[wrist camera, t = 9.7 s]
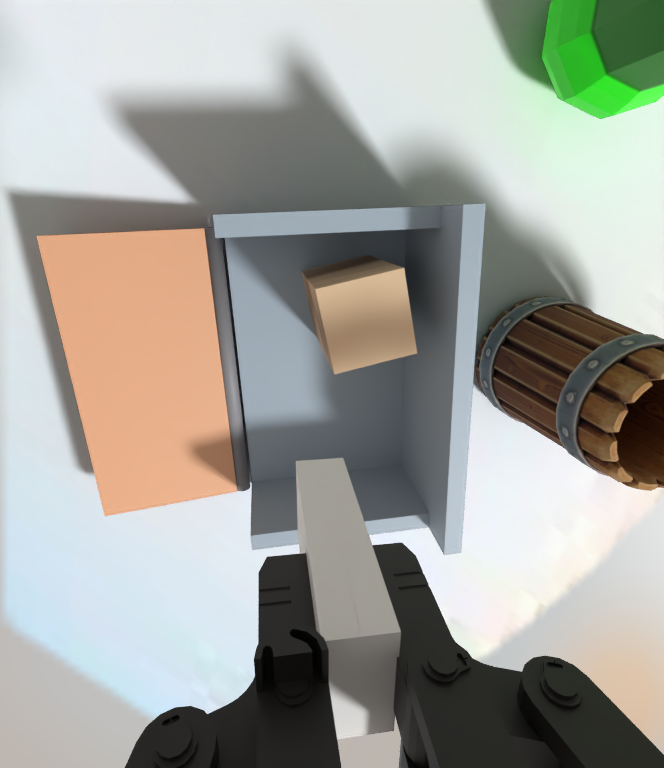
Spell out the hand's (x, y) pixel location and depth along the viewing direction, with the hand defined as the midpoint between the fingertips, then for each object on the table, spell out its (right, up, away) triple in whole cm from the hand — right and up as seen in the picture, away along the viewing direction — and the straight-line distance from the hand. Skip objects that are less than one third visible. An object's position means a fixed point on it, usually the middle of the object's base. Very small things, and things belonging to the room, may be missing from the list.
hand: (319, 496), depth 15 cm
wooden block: (+1, +10, +20) cm, 22 cm away
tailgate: (-7, +5, +20) cm, 22 cm away
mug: (+20, +6, +26) cm, 33 cm away
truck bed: (0, +6, +23) cm, 23 cm away
